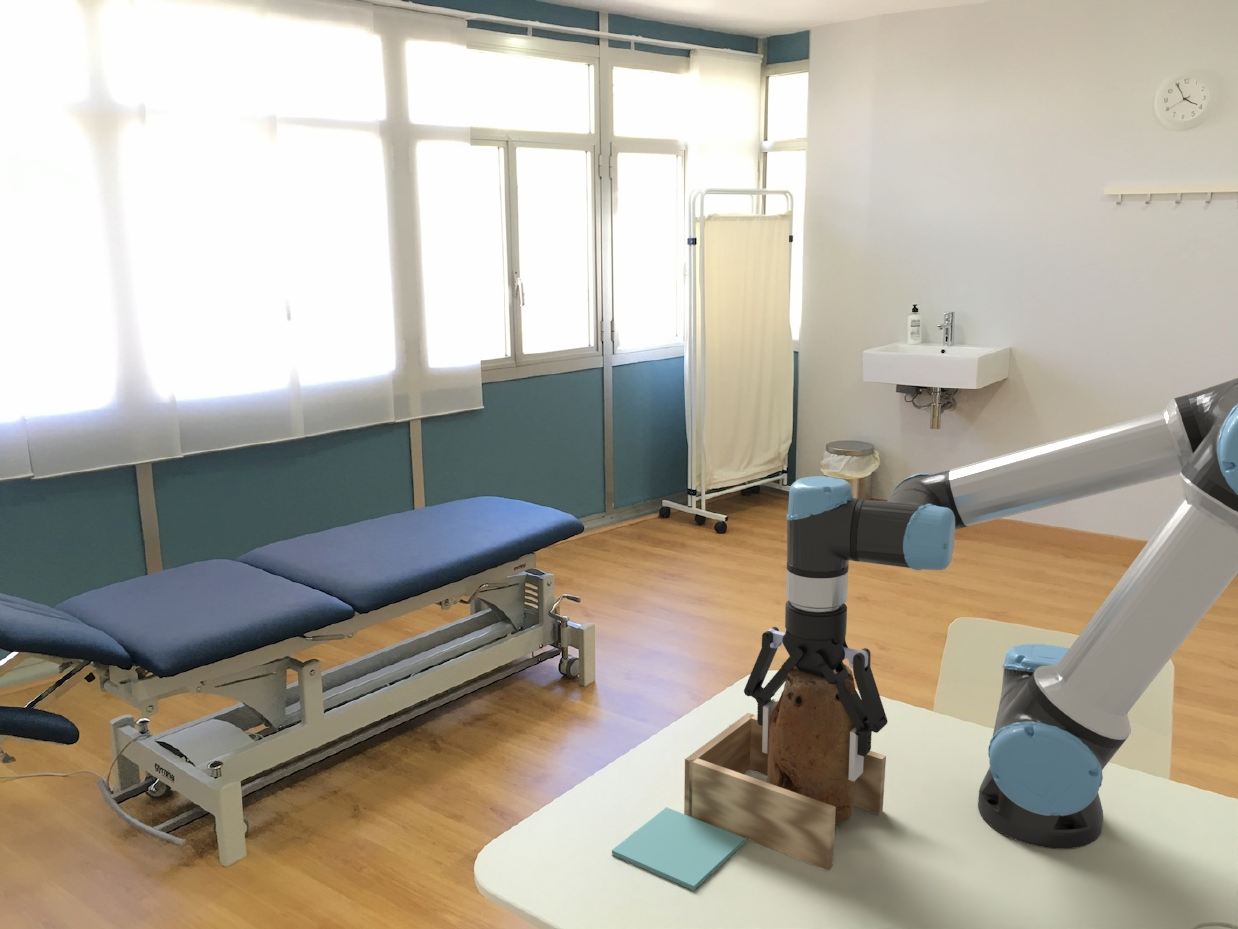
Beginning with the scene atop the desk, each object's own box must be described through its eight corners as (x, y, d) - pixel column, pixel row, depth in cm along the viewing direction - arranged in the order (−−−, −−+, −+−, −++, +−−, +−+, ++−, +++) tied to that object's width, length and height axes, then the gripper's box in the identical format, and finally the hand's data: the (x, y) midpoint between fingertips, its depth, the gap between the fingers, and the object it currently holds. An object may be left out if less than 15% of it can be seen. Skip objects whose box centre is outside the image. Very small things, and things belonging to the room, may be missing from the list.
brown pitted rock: (846, 798, 138) (852, 657, 133) (856, 829, 130) (863, 682, 126) (765, 797, 138) (767, 657, 134) (770, 828, 131) (773, 682, 127)
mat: (745, 842, 130) (745, 838, 130) (693, 890, 121) (693, 886, 121) (666, 811, 137) (666, 807, 137) (611, 854, 128) (611, 850, 128)
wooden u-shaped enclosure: (882, 810, 137) (886, 755, 135) (828, 871, 124) (831, 811, 122) (746, 763, 149) (747, 712, 147) (684, 814, 136) (684, 759, 135)
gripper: (920, 612, 124) (912, 777, 129) (747, 575, 138) (745, 726, 143) (896, 631, 118) (888, 803, 123) (718, 591, 132) (717, 747, 137)
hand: (811, 762), depth 133 cm, fingers closed on brown pitted rock, 11 cm apart
